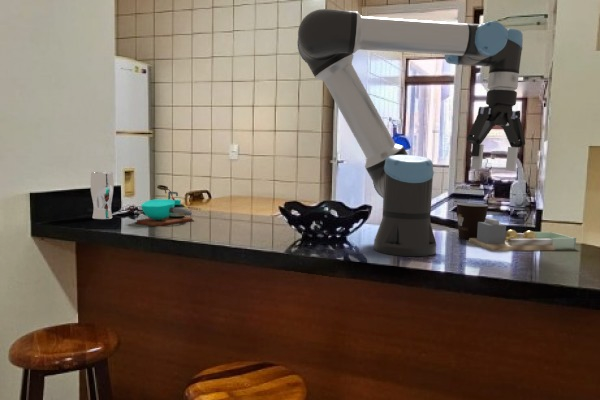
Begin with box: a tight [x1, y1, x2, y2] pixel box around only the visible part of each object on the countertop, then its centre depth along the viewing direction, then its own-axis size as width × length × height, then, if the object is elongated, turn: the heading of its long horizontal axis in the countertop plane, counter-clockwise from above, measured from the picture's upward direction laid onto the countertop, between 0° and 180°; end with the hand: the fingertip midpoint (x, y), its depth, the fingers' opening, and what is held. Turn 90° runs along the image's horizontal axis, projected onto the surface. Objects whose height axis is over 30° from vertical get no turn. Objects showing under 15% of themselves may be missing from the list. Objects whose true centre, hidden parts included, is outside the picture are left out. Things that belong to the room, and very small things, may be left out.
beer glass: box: [90, 171, 115, 220], centre depth 170 cm, size 7×7×15 cm
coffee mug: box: [456, 202, 489, 241], centre depth 154 cm, size 12×9×10 cm
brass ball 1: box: [505, 229, 518, 240], centre depth 144 cm, size 3×3×3 cm
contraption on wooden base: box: [134, 184, 195, 227], centre depth 165 cm, size 14×18×15 cm
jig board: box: [468, 232, 556, 251], centre depth 143 cm, size 18×12×3 cm, turn 101°
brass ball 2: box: [523, 230, 536, 239], centre depth 143 cm, size 3×3×3 cm
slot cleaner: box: [477, 217, 507, 244], centre depth 141 cm, size 5×6×6 cm
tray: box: [533, 231, 577, 250], centre depth 145 cm, size 7×10×3 cm
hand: (493, 170), depth 142 cm, fingers open, 13 cm apart
